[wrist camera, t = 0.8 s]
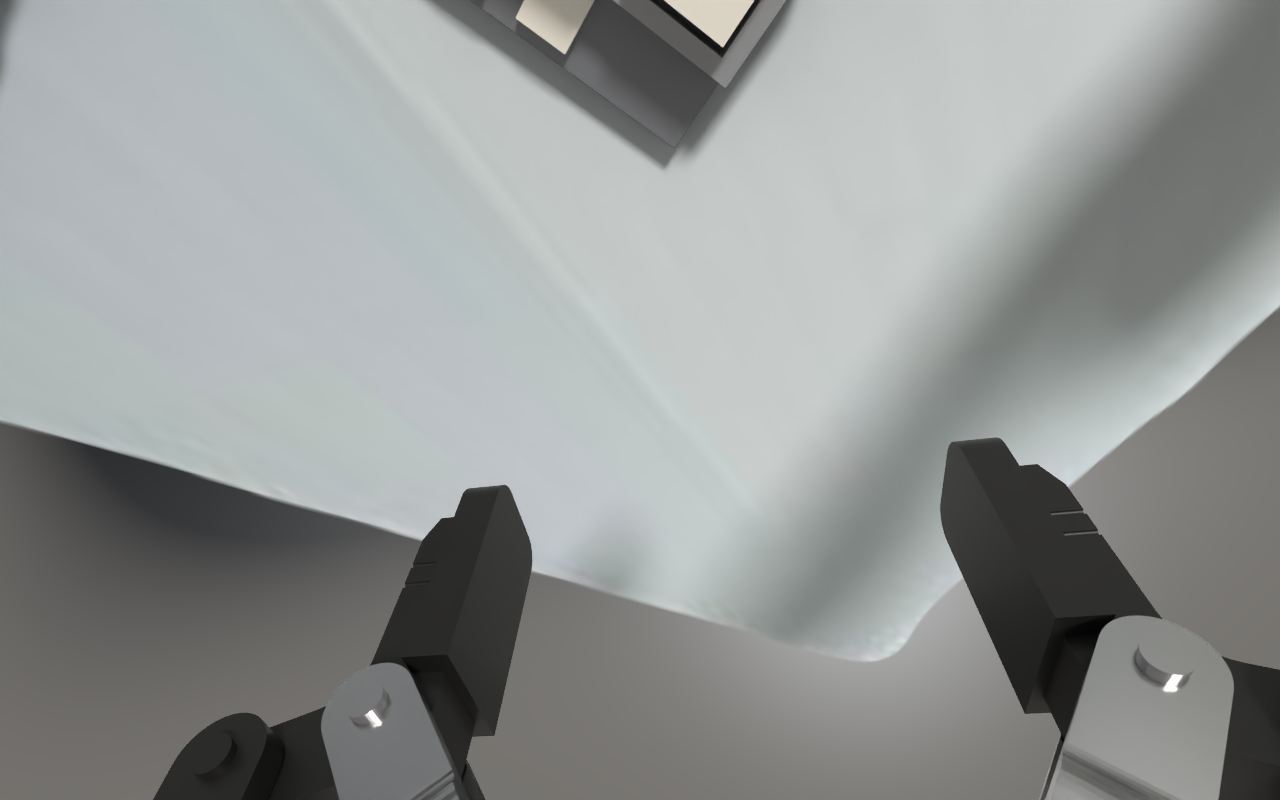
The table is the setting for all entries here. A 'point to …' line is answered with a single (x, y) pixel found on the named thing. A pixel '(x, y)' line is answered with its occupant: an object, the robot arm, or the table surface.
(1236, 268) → the table surface
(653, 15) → the keypad
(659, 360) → the table surface
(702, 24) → the key cream
